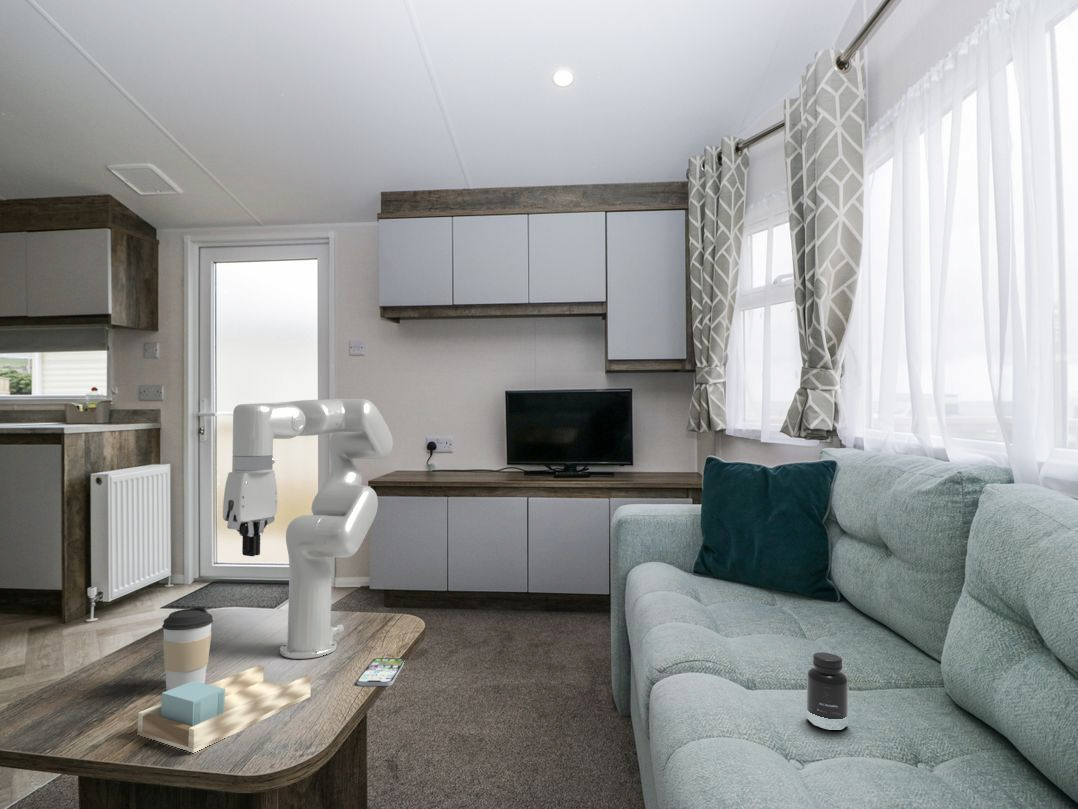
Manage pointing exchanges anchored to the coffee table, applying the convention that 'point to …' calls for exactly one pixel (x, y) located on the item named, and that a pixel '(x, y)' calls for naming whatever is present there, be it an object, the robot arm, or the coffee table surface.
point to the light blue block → (192, 703)
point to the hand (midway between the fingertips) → (251, 554)
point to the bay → (227, 710)
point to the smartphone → (381, 672)
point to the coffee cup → (186, 646)
